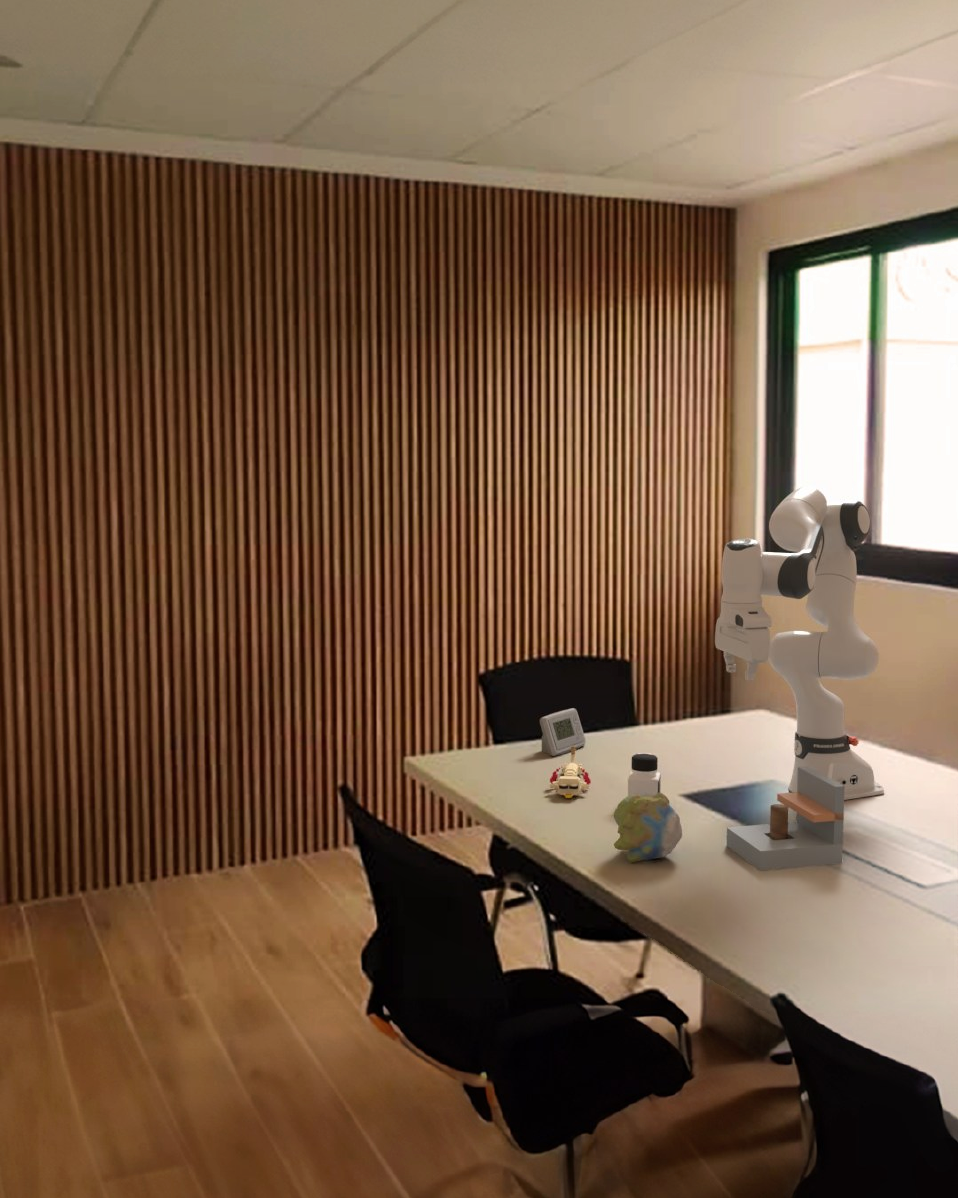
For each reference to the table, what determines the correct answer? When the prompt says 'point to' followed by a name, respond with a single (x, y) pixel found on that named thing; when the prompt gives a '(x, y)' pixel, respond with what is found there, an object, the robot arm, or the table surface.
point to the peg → (778, 822)
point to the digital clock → (561, 732)
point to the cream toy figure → (570, 778)
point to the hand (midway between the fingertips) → (740, 676)
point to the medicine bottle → (644, 775)
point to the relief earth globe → (647, 826)
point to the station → (798, 828)
